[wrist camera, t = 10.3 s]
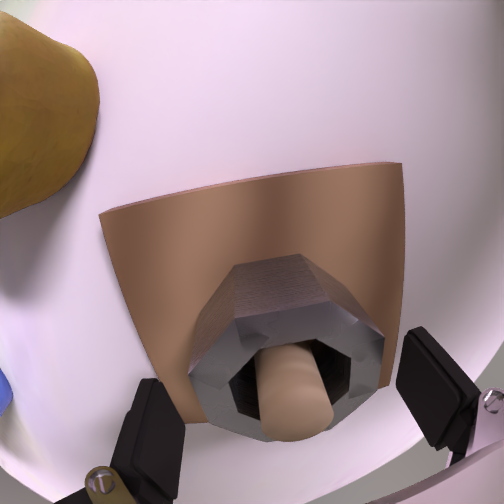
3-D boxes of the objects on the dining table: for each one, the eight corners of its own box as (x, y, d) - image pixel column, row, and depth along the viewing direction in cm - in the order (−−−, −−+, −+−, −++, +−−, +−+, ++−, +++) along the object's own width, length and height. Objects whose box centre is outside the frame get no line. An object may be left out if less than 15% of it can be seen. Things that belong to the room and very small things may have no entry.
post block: (386, 161, 13) (498, 177, 6) (381, 371, 17) (426, 450, 10) (111, 208, 13) (13, 260, 6) (185, 407, 17) (172, 499, 10)
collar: (343, 245, 12) (389, 286, 8) (344, 361, 15) (371, 417, 11) (189, 272, 12) (169, 327, 8) (222, 384, 15) (221, 447, 11)
